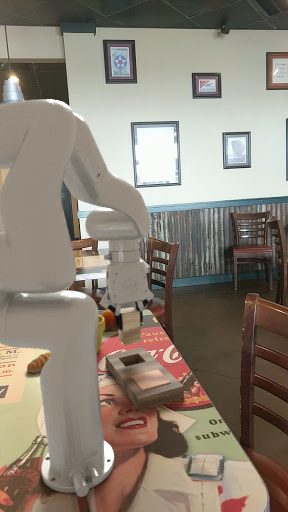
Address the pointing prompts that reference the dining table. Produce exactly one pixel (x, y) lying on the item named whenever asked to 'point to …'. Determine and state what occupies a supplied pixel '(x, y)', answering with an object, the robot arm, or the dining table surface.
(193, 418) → the dining table surface
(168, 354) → the dining table surface
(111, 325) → the fruit
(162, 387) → the pocket board
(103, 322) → the plant pot
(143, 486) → the dining table surface
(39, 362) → the pastry
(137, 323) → the maple block
